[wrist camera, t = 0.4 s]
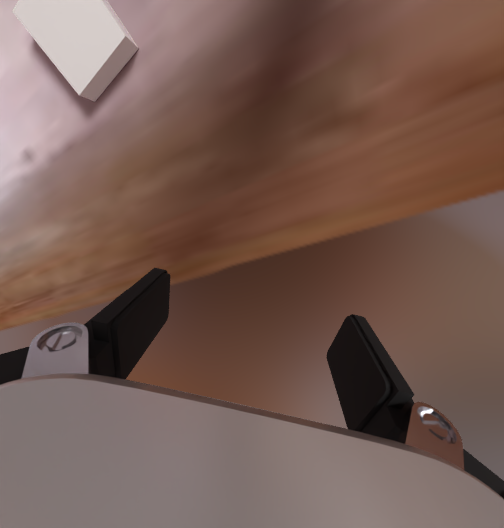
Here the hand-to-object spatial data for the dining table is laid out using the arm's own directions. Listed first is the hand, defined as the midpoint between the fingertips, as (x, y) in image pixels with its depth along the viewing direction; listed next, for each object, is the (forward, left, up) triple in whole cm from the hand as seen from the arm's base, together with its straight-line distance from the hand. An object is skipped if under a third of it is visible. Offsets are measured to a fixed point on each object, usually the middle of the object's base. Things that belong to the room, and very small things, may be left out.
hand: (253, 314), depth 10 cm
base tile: (+9, -36, -30) cm, 48 cm away
